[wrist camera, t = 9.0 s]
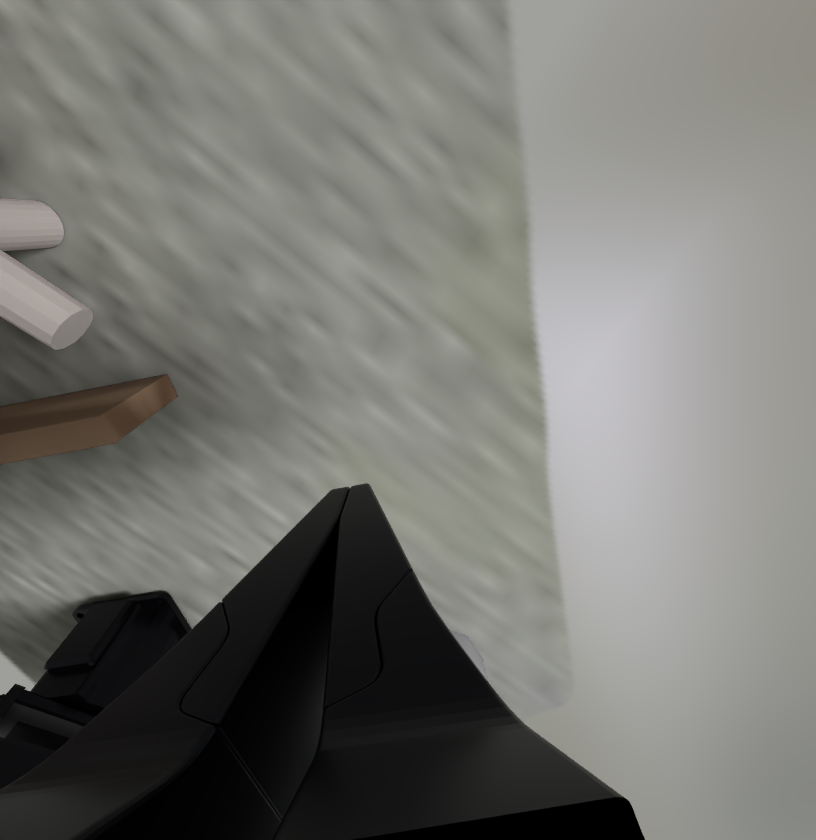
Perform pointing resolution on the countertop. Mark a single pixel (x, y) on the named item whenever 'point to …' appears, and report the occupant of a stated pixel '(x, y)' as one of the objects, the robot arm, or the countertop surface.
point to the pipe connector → (36, 277)
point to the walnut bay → (79, 418)
